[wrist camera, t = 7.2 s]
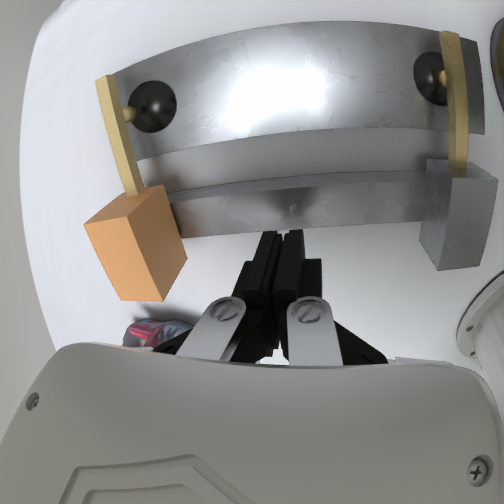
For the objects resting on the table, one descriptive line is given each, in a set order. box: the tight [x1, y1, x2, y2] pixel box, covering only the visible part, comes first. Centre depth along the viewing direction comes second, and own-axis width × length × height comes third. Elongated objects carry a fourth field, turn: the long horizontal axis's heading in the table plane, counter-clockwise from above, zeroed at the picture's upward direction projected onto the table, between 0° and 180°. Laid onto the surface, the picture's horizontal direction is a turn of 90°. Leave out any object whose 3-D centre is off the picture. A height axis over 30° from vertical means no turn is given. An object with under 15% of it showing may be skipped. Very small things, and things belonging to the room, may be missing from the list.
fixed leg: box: [419, 31, 498, 271], centre depth 10 cm, size 3×12×4 cm, turn 10°
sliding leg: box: [83, 75, 188, 302], centre depth 13 cm, size 3×12×5 cm, turn 10°
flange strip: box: [112, 21, 485, 161], centre depth 12 cm, size 23×6×1 cm, turn 100°
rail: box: [166, 171, 426, 238], centre depth 15 cm, size 24×2×2 cm, turn 100°
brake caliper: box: [122, 319, 193, 349], centre depth 23 cm, size 11×11×12 cm
